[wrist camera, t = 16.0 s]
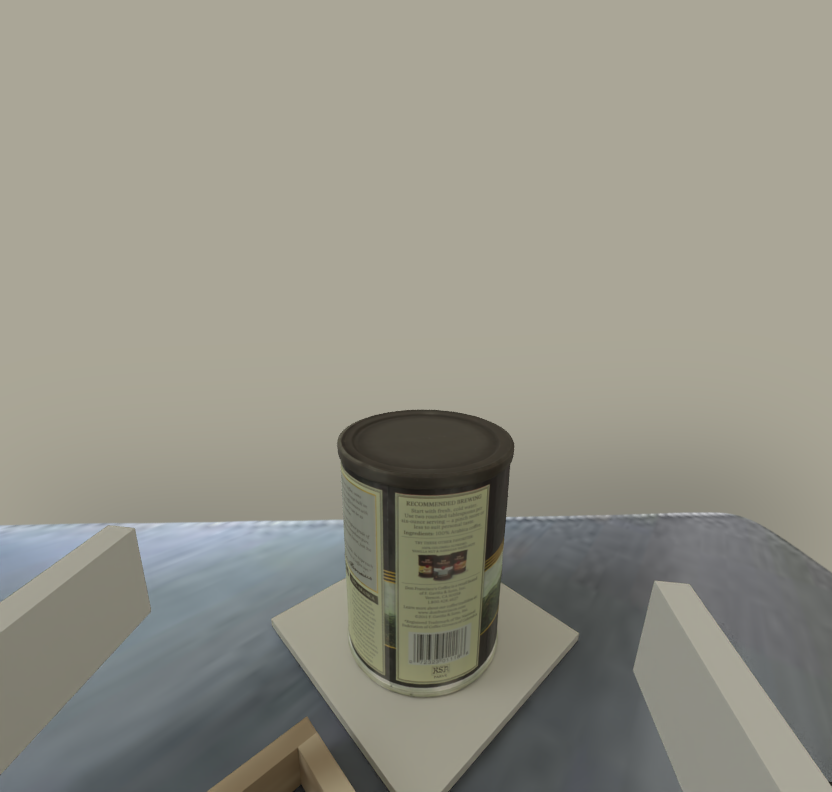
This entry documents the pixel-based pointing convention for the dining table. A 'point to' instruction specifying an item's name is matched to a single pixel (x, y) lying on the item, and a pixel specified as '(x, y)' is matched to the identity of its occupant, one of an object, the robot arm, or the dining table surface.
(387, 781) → the white square board
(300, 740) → the birch frame
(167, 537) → the dining table surface
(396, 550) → the coffee can
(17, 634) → the robot arm
